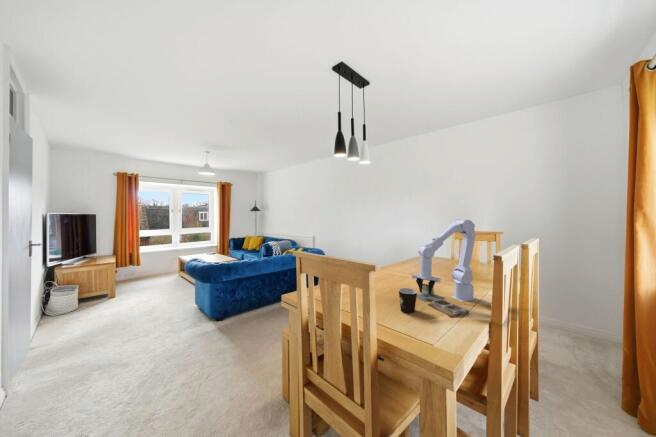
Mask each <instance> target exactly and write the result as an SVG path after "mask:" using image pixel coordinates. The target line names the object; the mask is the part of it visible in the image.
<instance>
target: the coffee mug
mask: <svg viewBox="0 0 656 437" xmlns="http://www.w3.org/2000/svg"><path fill="white" fill-rule="evenodd" d="M417 295H418V291H417V290H416V289H414V288H409V287H401V288H399V289H398V297H399V308H400V312H401V313H403V314H408V315H410V314H413V313H415V310H416V302H417V298H416V297H417Z"/></svg>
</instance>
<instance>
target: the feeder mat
mask: <svg viewBox="0 0 656 437" xmlns="http://www.w3.org/2000/svg"><path fill="white" fill-rule="evenodd" d="M416 299H418V300H420V301H422V302H424V303H427V302H432V301H435V300H441V299H442V300H445V297H443V296H440V295H438V294H436V293H434V296H430V297H423V296H422V293H420V294H418V293H417V297H416Z"/></svg>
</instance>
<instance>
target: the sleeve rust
mask: <svg viewBox="0 0 656 437" xmlns="http://www.w3.org/2000/svg"><path fill="white" fill-rule="evenodd" d="M427 284H428V283H427ZM428 285H429V284H428ZM434 287H435V285H434V286H433V289H432V292H431V294H430V296H434V294H435V292H434V290H435V288H434Z"/></svg>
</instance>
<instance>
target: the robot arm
mask: <svg viewBox="0 0 656 437" xmlns="http://www.w3.org/2000/svg"><path fill="white" fill-rule="evenodd" d="M475 227H476V224H475V223H474V222H473V221H472V220H470V219H461V218H460V219H459V218H456V219H454V220H453V221H452V222H451V223H450V224H449V226H448V227H447V228H446V229H445V230H444V231H443V232H442V233H441V234H440V235H439V236H434V237H431V240H430V241H428V243H425V244H424V245H423V246H421V247H420V248H419V250H418V251H417V252H418V255H419V256H420V262H419V264H420V265H419V266H420V268H419V269H420V270H419V274H417V273H416V274H415V273H413V274H412V275H411V278H412V279H416V280H415V282H416V284H417V285H418V289H419V293H420V294H422V284H424V281H428V283H427V284H429V295H430V294H431V292H432V289H433V286H434V287H435V283H439V284H440V283H441V278H440V277H435V276H432V271H433V270H432V267H433V265H432V262H433V261H432V260H433V259H432V258H433V257H434V256H435V253H436V251H437V250H439V249H440V248H441V247H442V246H444V241H446V240H447V239H448V238H450V237H451V236H452V235H453V234H455V233H460V235H462V238H463V239H462V243H461V249H460V252H459V254H460V255H459V260H458V264H456V265H455V266H454V270H453V271H452V272H451V277H452V279H453V282H454V292H453V295H450V297H451V298H452V299H455V300H457V301H460V302H467V301H468V302H469V301H475V298H474V295H475V294H474V291H475V290H474V286H473V283H472V282H473V270H472V269H471V267H470V266H471V260H472V256H473V251H474V246H475V241H476V231H475Z"/></svg>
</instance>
